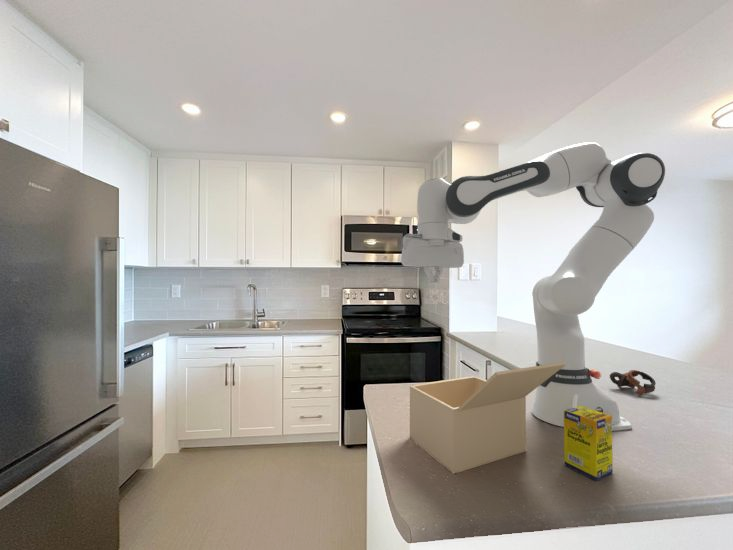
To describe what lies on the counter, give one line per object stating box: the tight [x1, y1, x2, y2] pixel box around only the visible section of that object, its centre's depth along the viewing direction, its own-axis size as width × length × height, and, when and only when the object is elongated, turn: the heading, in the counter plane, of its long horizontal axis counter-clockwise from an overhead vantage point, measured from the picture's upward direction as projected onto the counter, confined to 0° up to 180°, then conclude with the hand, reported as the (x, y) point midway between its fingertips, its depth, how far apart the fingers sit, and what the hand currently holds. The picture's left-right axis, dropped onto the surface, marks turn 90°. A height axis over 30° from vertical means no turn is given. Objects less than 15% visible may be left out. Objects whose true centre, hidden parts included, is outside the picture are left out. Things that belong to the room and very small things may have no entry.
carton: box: [409, 375, 527, 475], centre depth 69 cm, size 20×16×12 cm
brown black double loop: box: [609, 369, 656, 397], centre depth 106 cm, size 12×10×8 cm
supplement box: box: [563, 406, 614, 481], centre depth 60 cm, size 6×6×11 cm
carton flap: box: [458, 362, 566, 411], centre depth 58 cm, size 18×13×1 cm
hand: (433, 282), depth 89 cm, fingers closed
